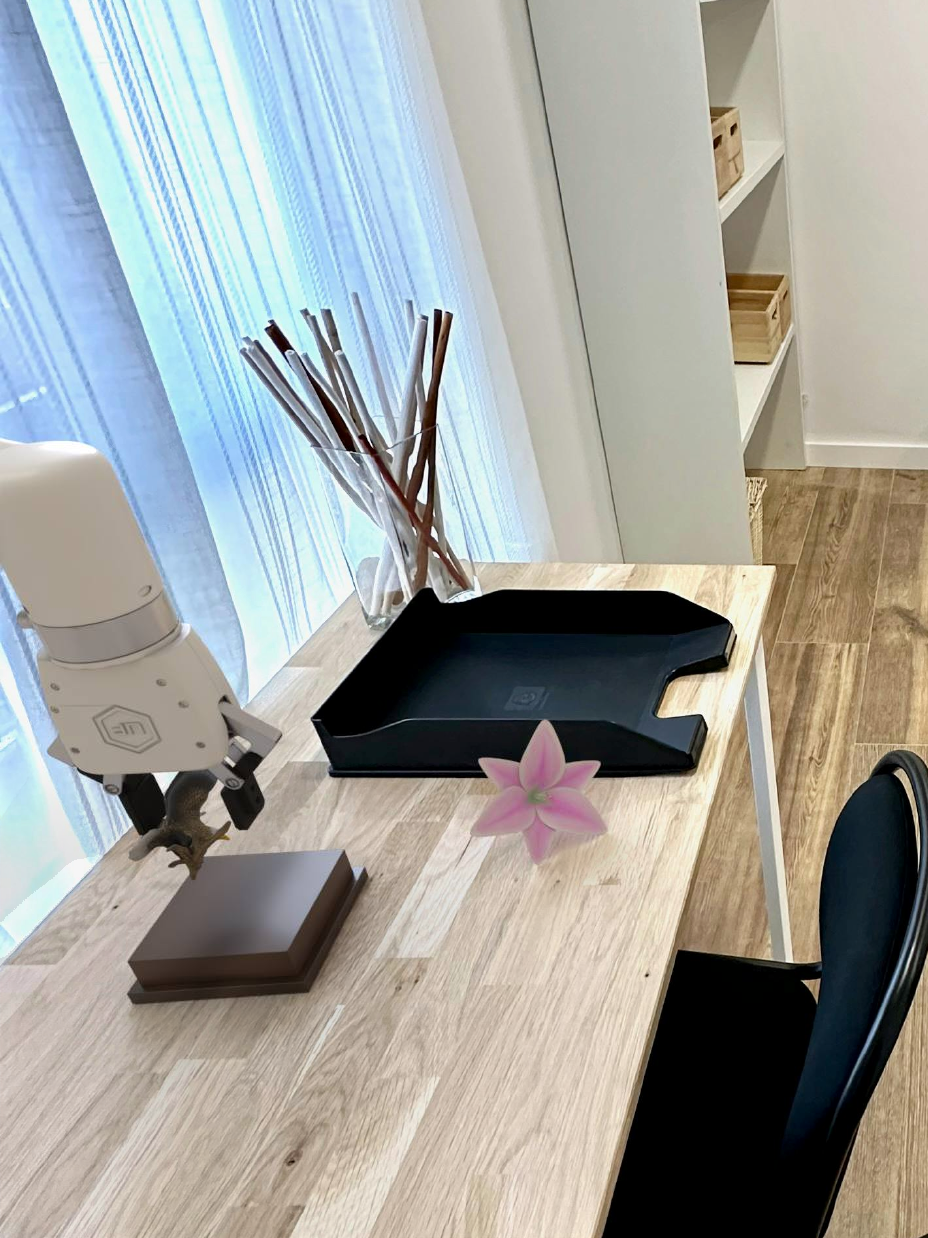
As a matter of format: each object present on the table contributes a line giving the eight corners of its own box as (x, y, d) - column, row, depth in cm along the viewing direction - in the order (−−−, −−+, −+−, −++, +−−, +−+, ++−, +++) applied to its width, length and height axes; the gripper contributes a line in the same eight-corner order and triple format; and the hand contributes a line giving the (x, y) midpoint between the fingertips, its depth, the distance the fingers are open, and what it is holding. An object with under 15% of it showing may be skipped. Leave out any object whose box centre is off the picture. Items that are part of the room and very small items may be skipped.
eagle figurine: (276, 839, 84) (245, 765, 89) (193, 808, 78) (165, 732, 83) (196, 908, 84) (169, 830, 88) (106, 882, 77) (83, 800, 82)
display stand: (132, 1004, 85) (111, 969, 82) (213, 884, 96) (197, 851, 93) (308, 992, 86) (292, 957, 84) (368, 876, 97) (356, 842, 95)
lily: (461, 885, 98) (476, 834, 91) (459, 772, 104) (473, 717, 97) (599, 877, 104) (622, 830, 98) (589, 771, 110) (610, 720, 104)
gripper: (-68, 657, 70) (53, 861, 80) (217, 647, 72) (302, 848, 82) (7, 599, 77) (111, 795, 86) (267, 592, 78) (340, 784, 88)
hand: (203, 819), depth 84 cm, fingers closed on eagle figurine, 6 cm apart
